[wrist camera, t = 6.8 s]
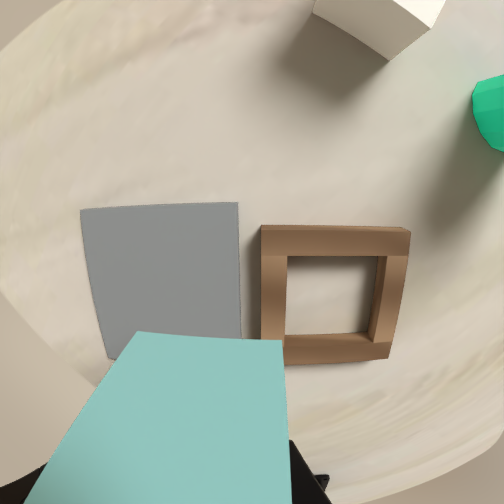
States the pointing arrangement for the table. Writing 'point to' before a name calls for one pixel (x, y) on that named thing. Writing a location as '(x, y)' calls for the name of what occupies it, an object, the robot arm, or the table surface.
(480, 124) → the candle
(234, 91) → the table surface
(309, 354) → the frame
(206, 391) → the teal rectangular block
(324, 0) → the white cube
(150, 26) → the table surface
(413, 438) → the table surface
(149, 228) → the mat
